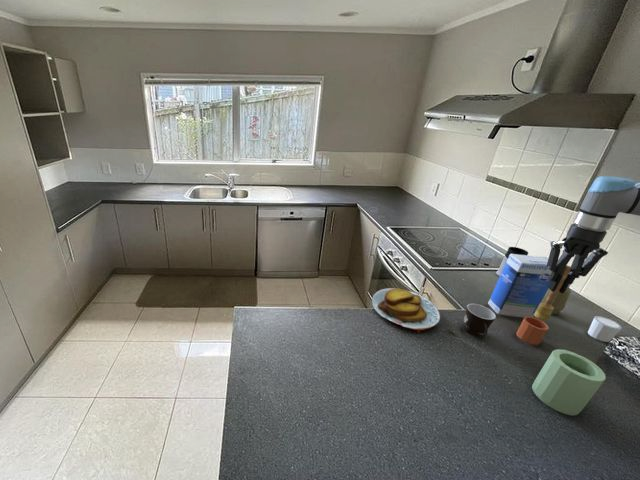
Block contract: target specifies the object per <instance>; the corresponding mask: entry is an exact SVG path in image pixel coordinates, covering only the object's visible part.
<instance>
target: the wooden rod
mask: <svg viewBox="0 0 640 480" xmlns="http://www.w3.org/2000/svg"><path fill="white" fill-rule="evenodd" d="M571 269H572V267H571V265H568V264H567V265H566V267H565V268H564V270H563V271H562V272H561V274H562V275H563V277H562V279H561V280H560V282H559V284H558V286H557V288H556V290H555V291H554V292H553V291H550V293H549V295H548V297H547V299H546V300H545V302H544V303H540V304H539V306H538V308H537V310H536V312H535V313H534V317H535V318H536V319H539V320H541V321H548V320H549V318H550V317H551V315H552V314H551V313H552V311H553V309H554V307H553V306H551V305H552V303H553V301H554V300H555V298H556V296H557V294H558V292H559V291H560V289H561V287H562V285H563V283H564V281H565V280H566V278H567V276H568V274H569V272H570V270H571Z"/></svg>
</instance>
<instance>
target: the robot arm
mask: <svg viewBox="0 0 640 480" xmlns="http://www.w3.org/2000/svg"><path fill="white" fill-rule="evenodd" d="M619 213H621V214H627V215H634V216H638V217H640V182H638V183H636V181H635V180H634V179H632V178H628V177H627V178H626V177H620V176H612V175H611V176H610V175H601V176H598V177H596V178H595V179H594V181H593V182H592V184H591V186H590V188H589V189H588V190H587V193H586V195H585V197H584V199H583V201H582V203H581V205H580V206H579V209H578V211H577V213H576V215H575V218H574V219H573V221H572V222H573V223H571V224H570V226H569V228H568V230H567V233H566V235H565V237H563V238H562V240H561V241H550V243H549V244H550V252H549V255H548V262H547V266H546V267H547V268H548V269H549V270H551V271H552V273H551V275H550V277H549V279H550V280H551V281H550V282H549V284H548V286H547V287H548V288H549V289H550V290H551V291H553V292H554V291H555V290H556V288H557V286H558V284H559V282H560V280H561V279H562V277H563V275H562V274H561V272H562V271H563V270H564V268H565V267H566V265H568V264H569V262H570V261H571V259H572V258H573V260H572V263H571V265H570V267H572V269H571V270H570V272H569V274H568V276H567V278H566V280H565V281H564V283H563V285H562V287H561V289H560V291H559V292H560V293H564V292H565V290H566V289H567V287H568V285H569V284H570V286H571V285H572V284H574V281H575V280H576V279H579V278H580V277H586V276H588V274H589V273H590V272H591V271H592V270H593V268H594V267H595V266H596V265H597V264H598V263H599V261H600V260H601V259H602V258H603V257H605V256H607V255H608V254H609V251H607V250H606V249H603V248H602V247H601V244H600V243H602V242H603V241H604V239H605V237H606V235H607V234H608V232H607V231H609V230H610V229H611V227H612V225H613V223H614V221H615V220H616V219H617V217H618V215H619ZM562 249H563V250H562ZM561 250H562V254H561ZM560 254H561V255H560Z"/></svg>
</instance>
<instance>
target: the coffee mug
mask: <svg viewBox="0 0 640 480" xmlns="http://www.w3.org/2000/svg"><path fill="white" fill-rule="evenodd" d="M496 318H497V316H496V314H495V311H494V310H493V311H492V309H490V308H488V307H486V306H484V305H481V304H477V303H468V304H467V305H466V309H465V313H464V318H463V322H462V327H461V328H462V330H463V331H464V332H465V333H467V334H468V335H470V336H473V337H475V338H481V337H483V336H485V335H487V334H488V330H489V328H490V326H491V325H492V323H493V322H494V321H495V319H496Z"/></svg>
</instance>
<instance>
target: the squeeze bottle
mask: <svg viewBox="0 0 640 480" xmlns="http://www.w3.org/2000/svg"><path fill="white" fill-rule="evenodd" d="M570 287H571V285H570V284H569V285H568V287H567V289H566V290H565V292H564V293H560V292H558V294H557V296H556V298H555V300H554V301H553V303H552V305H551V306H553V307H554V309H553V311H552V313H551V315H556V314H558V313H559V312H561V311H563V310H564V309H565V308H566V305H567V303H568V299H569V297H570V295H571V289H570ZM550 291H551V290H550V289H548V291H547V292H546V294H545V296H544V298H543V300H542V302H541V303H544V302H545V300H546V299H547V297H548V295H549V293H550Z"/></svg>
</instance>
